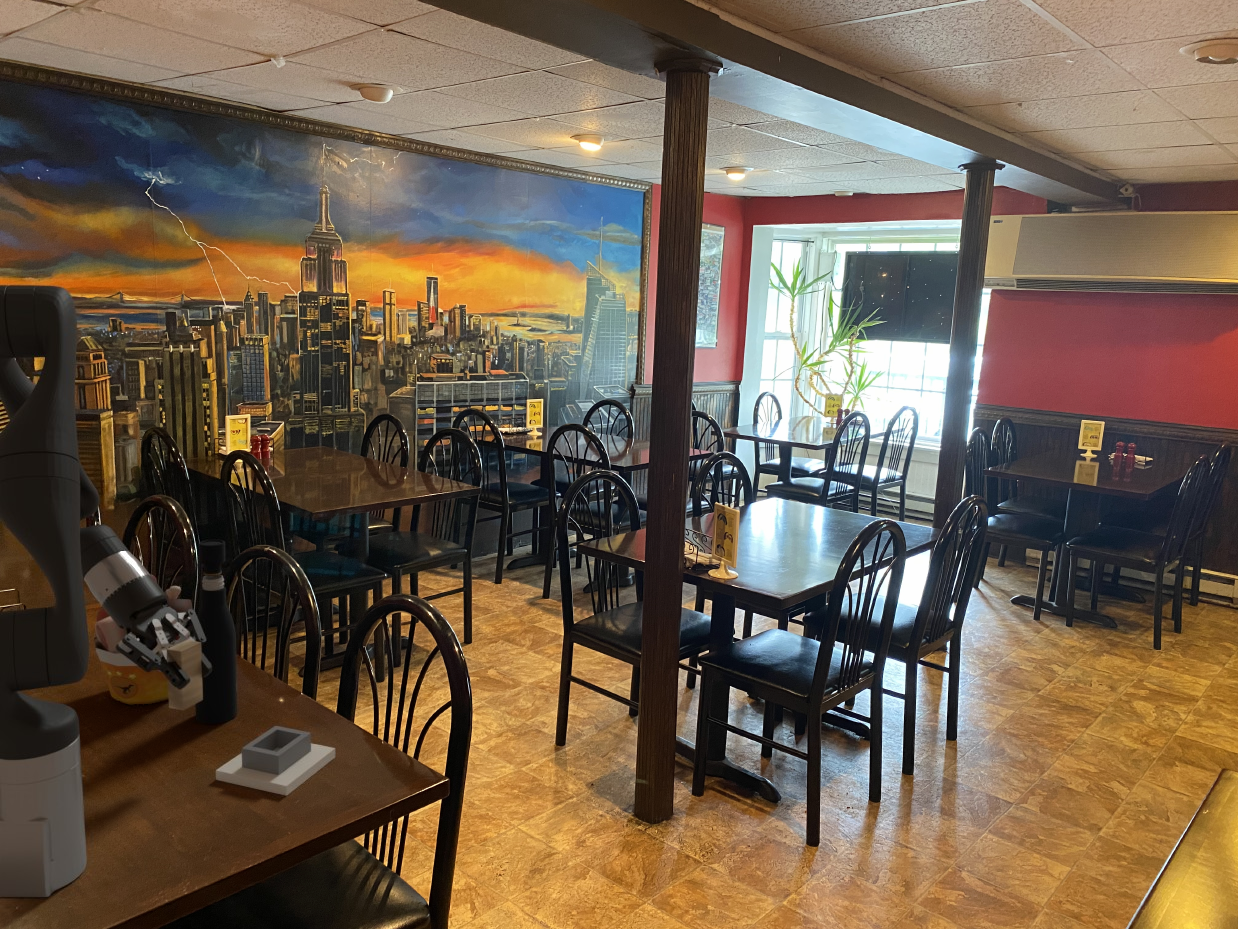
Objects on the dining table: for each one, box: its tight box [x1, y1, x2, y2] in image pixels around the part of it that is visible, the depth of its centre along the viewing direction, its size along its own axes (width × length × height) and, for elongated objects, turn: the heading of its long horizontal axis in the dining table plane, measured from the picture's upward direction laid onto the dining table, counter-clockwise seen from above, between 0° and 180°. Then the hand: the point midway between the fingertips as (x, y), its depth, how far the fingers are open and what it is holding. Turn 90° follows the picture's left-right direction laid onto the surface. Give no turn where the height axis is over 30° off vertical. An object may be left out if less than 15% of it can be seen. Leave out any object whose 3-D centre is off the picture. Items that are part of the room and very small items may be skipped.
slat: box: [167, 640, 203, 711], centre depth 134 cm, size 2×4×9 cm, turn 164°
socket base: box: [215, 725, 336, 797], centre depth 137 cm, size 12×12×4 cm
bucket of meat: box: [93, 574, 193, 706], centre depth 159 cm, size 20×16×20 cm
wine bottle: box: [194, 539, 238, 725], centre depth 150 cm, size 6×6×30 cm
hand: (196, 679), depth 133 cm, fingers closed on slat, 4 cm apart
